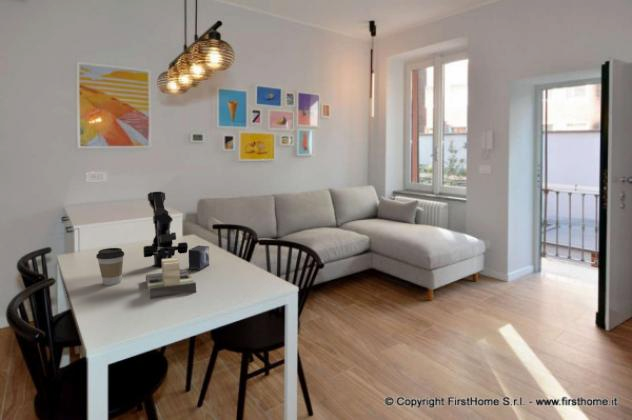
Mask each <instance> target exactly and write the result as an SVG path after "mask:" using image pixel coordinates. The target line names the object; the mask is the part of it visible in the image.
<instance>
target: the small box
mask: <svg viewBox="0 0 632 420" xmlns="http://www.w3.org/2000/svg"><path fill="white" fill-rule="evenodd" d="M209 266H210V246H209V245H196V246H194V247H192V248H190V249H188V271H197V272H199V271H202V270H204V269H205V268H207V267H209Z"/></svg>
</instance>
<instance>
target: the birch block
mask: <svg viewBox="0 0 632 420" xmlns="http://www.w3.org/2000/svg"><path fill="white" fill-rule="evenodd" d="M161 273H162V278H163V284H164V286H172V285H179V284H180V262H179V260H178V258H177V256H176V257H171V258H166V259H162V267H161Z"/></svg>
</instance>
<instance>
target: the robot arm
mask: <svg viewBox="0 0 632 420" xmlns="http://www.w3.org/2000/svg"><path fill="white" fill-rule="evenodd" d="M165 201H166V192H164V191H150V192H149V193H147V202H149V203H148V204H149V206H150V208H152V210H153V211H152V212H153V216H152V224H153V225H154V233H155V235H154V237H153V240H152V243H151V245H150V244H149V245H144V246H143V247H142V248H143V257H144V258H151V257H153V260H154V261H153V263H154V264H152V267H156V268H162V259H166V258H173V257H174V256H175V255H176V254H175V253H176V251H177V253H178V254H180V255H182V254H186V253H188V250H189V249H188V248H189V246H188V242H186V241H185V242H178V243H177V245H174V244H173V241H176V240H177V233H176V232H175V231H174V232H171V230H170V229H171V223H172V222H173V218H172V216H171V215H170V214H169V211H168V210H167V209H166V208H165Z"/></svg>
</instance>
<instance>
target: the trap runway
mask: <svg viewBox="0 0 632 420" xmlns="http://www.w3.org/2000/svg"><path fill="white" fill-rule="evenodd" d="M179 270H180V269H179ZM145 283H146V284H145V285H146V286H147V287H146V288H147V292H148V295H149V296H148V297H149V299H150V300H151V299H159V298H166V297H171V296H179V295H185V294H187V295H188V294H193V293H197V282H196V281H194V280H193V278H192V277H191V275H190V273H189V270H187V269H183V270H180V284H179V285H172V286H164V284H163V278H162V272H157V273H150V274H149V273H148V274H145Z"/></svg>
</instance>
